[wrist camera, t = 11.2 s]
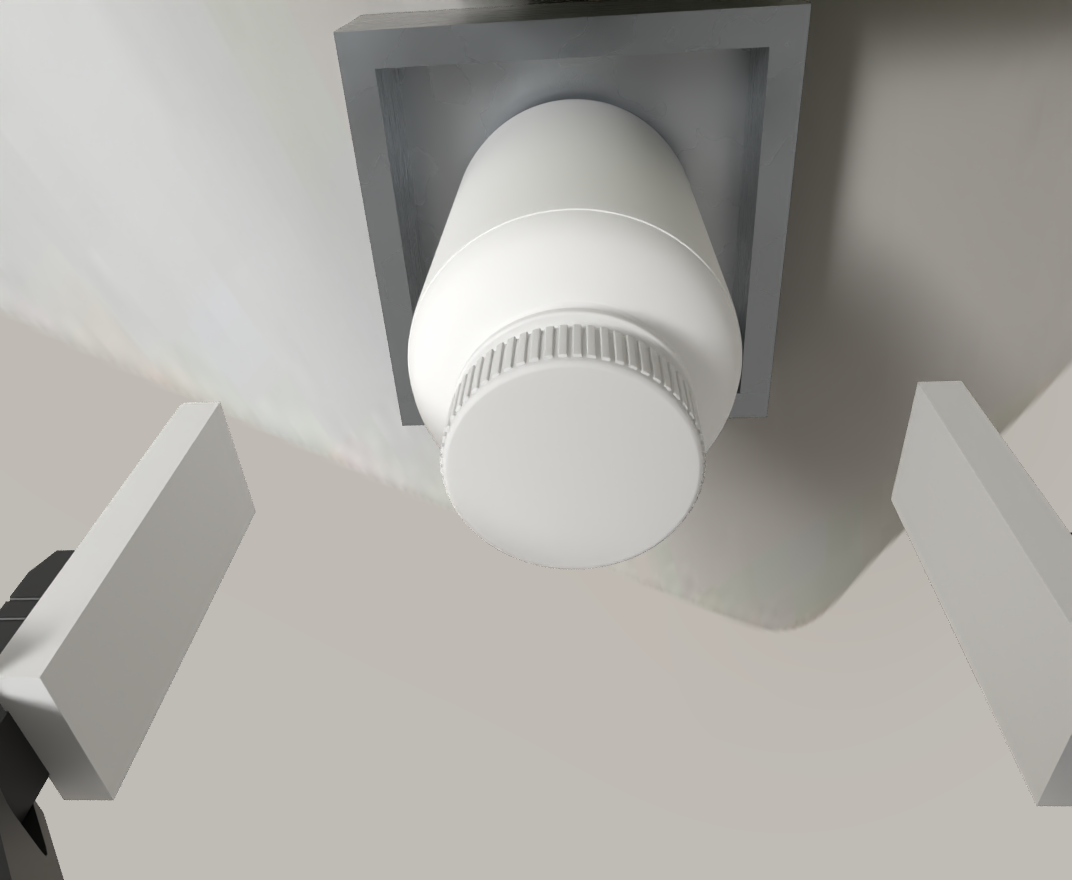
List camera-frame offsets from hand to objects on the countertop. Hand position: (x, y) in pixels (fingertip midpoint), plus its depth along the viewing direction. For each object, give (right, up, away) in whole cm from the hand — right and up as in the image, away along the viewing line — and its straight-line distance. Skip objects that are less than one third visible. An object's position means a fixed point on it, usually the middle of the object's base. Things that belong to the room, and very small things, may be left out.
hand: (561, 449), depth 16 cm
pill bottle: (+1, +8, +13) cm, 15 cm away
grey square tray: (+1, +8, +13) cm, 16 cm away
